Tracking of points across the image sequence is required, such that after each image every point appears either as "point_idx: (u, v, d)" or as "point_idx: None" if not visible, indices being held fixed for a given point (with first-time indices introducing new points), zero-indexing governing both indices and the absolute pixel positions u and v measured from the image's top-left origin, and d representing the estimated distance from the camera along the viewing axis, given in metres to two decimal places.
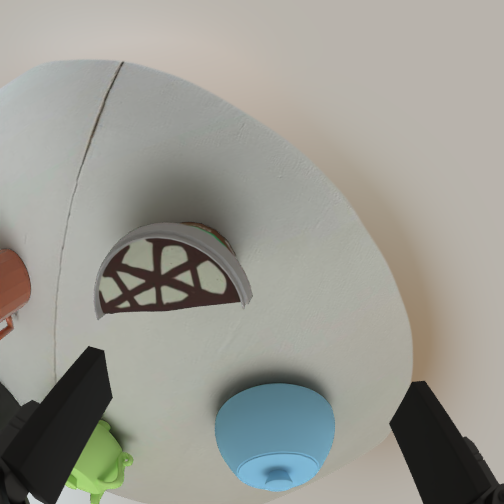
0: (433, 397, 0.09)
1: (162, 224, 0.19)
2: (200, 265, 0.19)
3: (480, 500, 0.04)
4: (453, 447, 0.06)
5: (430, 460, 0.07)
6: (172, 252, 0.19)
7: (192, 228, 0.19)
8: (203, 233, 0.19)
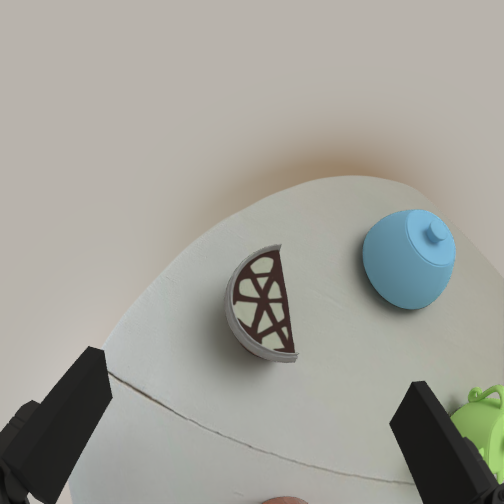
0: (433, 397, 0.09)
1: (225, 297, 0.28)
2: (253, 271, 0.29)
3: (480, 500, 0.04)
4: (453, 447, 0.06)
5: (430, 460, 0.07)
6: (244, 288, 0.28)
7: None
8: None
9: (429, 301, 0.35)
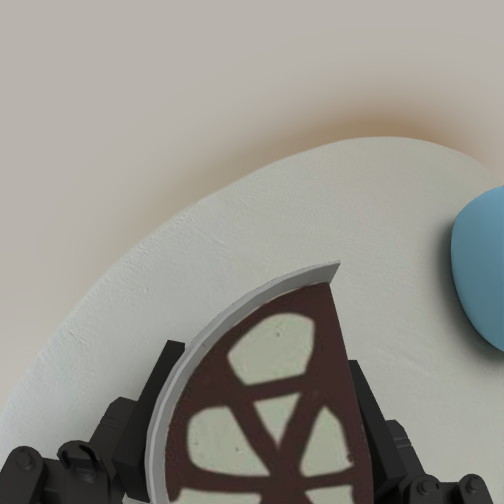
0: (360, 375, 0.11)
1: None
2: (240, 374, 0.07)
3: (398, 489, 0.06)
4: (369, 425, 0.08)
5: None
6: (206, 445, 0.06)
7: None
8: None
9: None
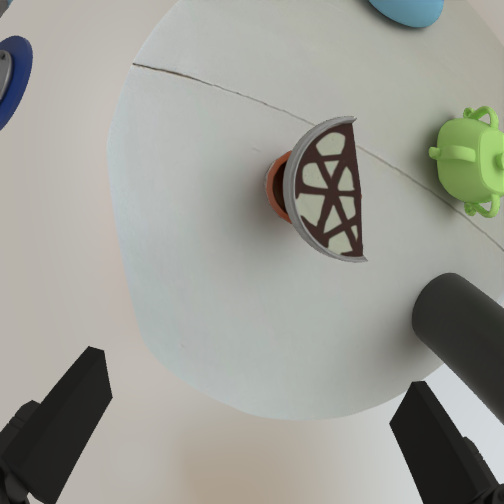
0: (433, 397, 0.09)
1: (284, 185, 0.22)
2: (320, 152, 0.21)
3: (480, 500, 0.04)
4: (453, 447, 0.06)
5: (430, 460, 0.07)
6: (308, 176, 0.21)
7: (288, 159, 0.22)
8: (293, 150, 0.22)
9: (420, 21, 0.28)
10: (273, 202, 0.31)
